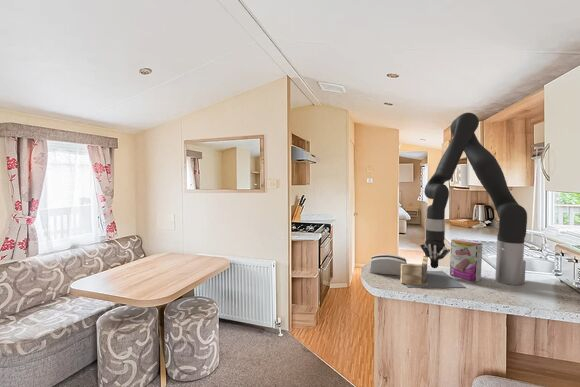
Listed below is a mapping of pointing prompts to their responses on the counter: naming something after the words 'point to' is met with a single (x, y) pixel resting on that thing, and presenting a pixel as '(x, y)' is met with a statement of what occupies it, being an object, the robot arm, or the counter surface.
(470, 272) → the candy bar box
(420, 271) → the fence fixed
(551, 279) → the counter surface
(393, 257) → the white plastic device
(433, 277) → the mat
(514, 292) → the counter surface
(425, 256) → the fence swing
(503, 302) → the counter surface
